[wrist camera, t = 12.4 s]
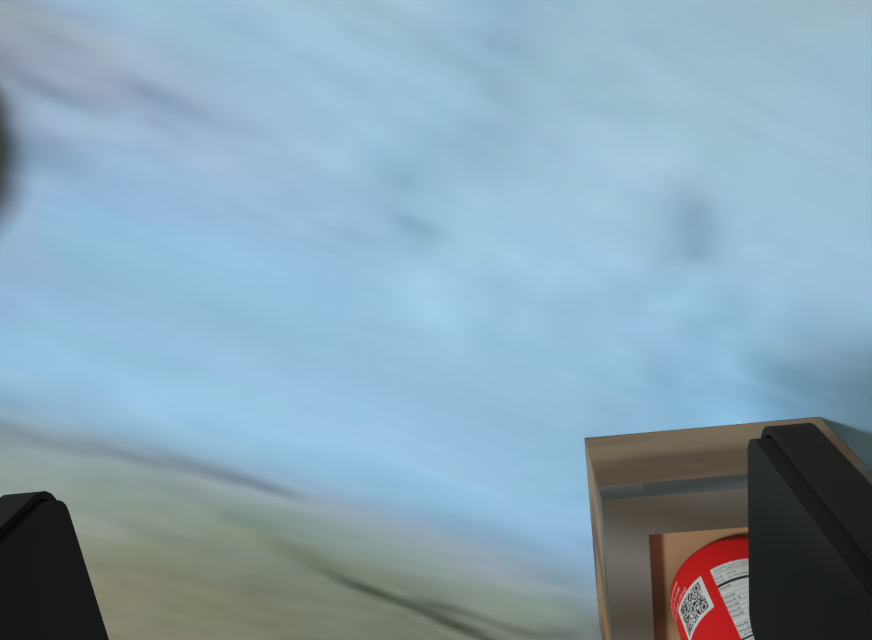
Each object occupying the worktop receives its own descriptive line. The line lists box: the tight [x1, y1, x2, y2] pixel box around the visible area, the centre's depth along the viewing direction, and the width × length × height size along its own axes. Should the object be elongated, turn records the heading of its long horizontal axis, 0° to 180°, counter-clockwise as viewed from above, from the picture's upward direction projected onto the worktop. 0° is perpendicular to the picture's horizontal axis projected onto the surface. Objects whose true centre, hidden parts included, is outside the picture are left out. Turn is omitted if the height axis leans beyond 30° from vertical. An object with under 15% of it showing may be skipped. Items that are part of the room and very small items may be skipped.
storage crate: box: [585, 417, 872, 640], centre depth 39 cm, size 12×12×6 cm
